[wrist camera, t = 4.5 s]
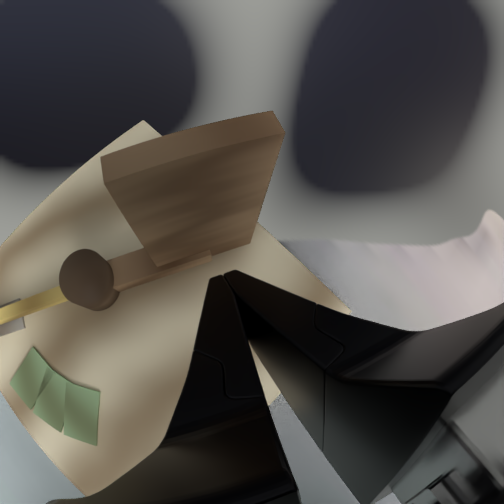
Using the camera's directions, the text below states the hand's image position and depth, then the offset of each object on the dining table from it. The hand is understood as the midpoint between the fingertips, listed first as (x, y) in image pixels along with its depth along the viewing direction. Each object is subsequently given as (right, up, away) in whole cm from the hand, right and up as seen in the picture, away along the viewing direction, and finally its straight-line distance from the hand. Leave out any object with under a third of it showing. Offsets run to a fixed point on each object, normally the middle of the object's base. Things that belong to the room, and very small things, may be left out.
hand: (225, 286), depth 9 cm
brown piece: (-8, -1, +7) cm, 11 cm away
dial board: (-8, -3, +8) cm, 11 cm away
